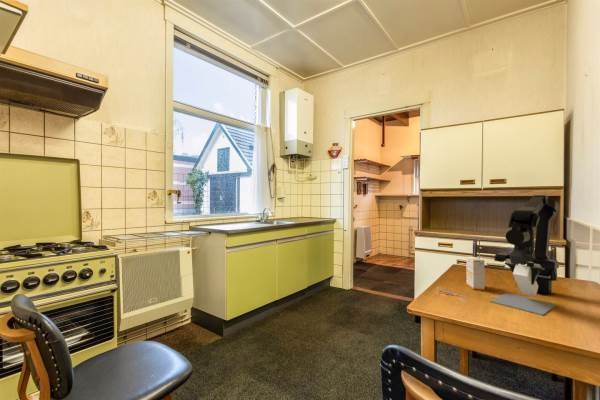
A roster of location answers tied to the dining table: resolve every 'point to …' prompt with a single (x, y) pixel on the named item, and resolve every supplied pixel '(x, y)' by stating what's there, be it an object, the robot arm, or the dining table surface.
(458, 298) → the key chain
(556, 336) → the dining table surface
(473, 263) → the supplement box
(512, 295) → the mat
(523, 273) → the block
